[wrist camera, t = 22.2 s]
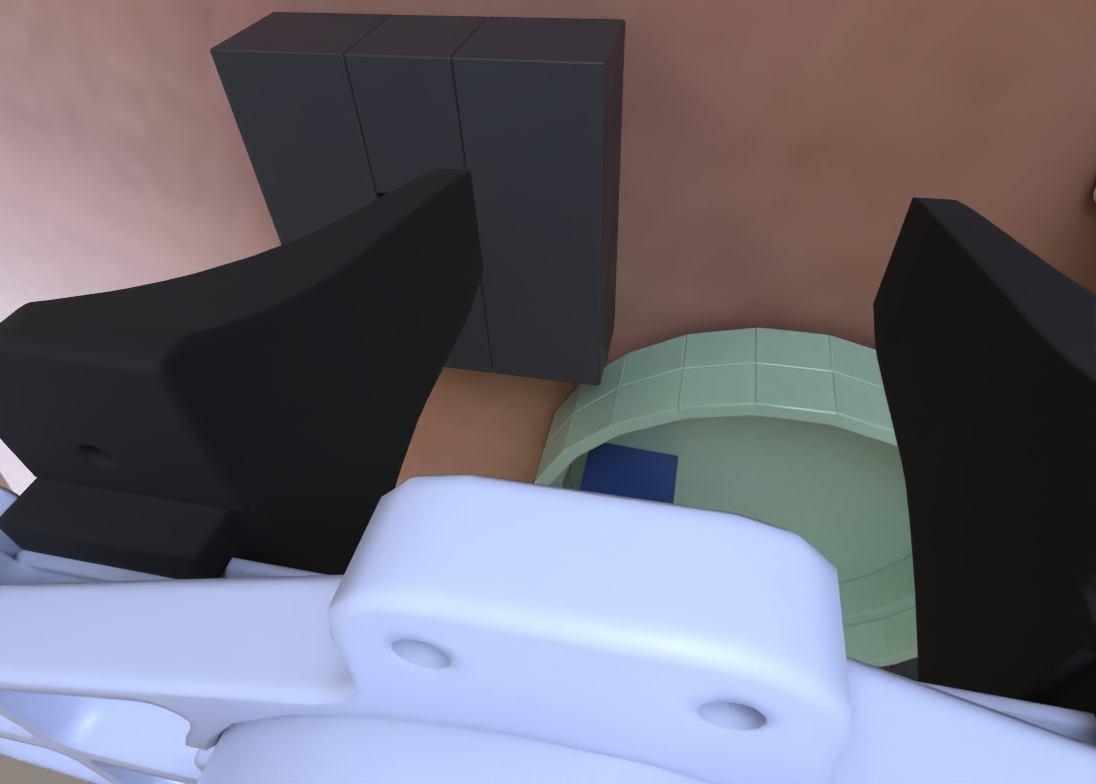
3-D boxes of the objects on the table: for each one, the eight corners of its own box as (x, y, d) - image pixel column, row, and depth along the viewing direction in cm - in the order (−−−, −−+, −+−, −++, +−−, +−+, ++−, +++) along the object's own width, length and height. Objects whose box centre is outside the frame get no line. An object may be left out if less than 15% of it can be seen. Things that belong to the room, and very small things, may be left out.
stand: (625, 19, 19) (605, 62, 16) (614, 326, 26) (599, 386, 24) (272, 11, 21) (208, 49, 18) (357, 299, 28) (320, 352, 26)
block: (678, 455, 30) (670, 529, 27) (665, 507, 33) (657, 579, 30) (591, 439, 31) (574, 510, 28) (586, 492, 33) (570, 560, 31)
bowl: (1086, 351, 23) (1138, 450, 20) (900, 620, 36) (914, 704, 33) (536, 295, 26) (506, 372, 23) (553, 559, 40) (536, 630, 36)
